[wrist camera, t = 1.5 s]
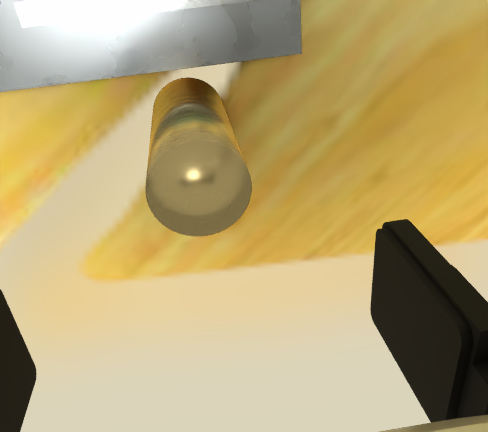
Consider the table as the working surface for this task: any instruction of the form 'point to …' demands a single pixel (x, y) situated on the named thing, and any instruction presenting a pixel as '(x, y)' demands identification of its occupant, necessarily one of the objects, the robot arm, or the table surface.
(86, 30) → the socket plate
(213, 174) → the peg
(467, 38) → the table surface
